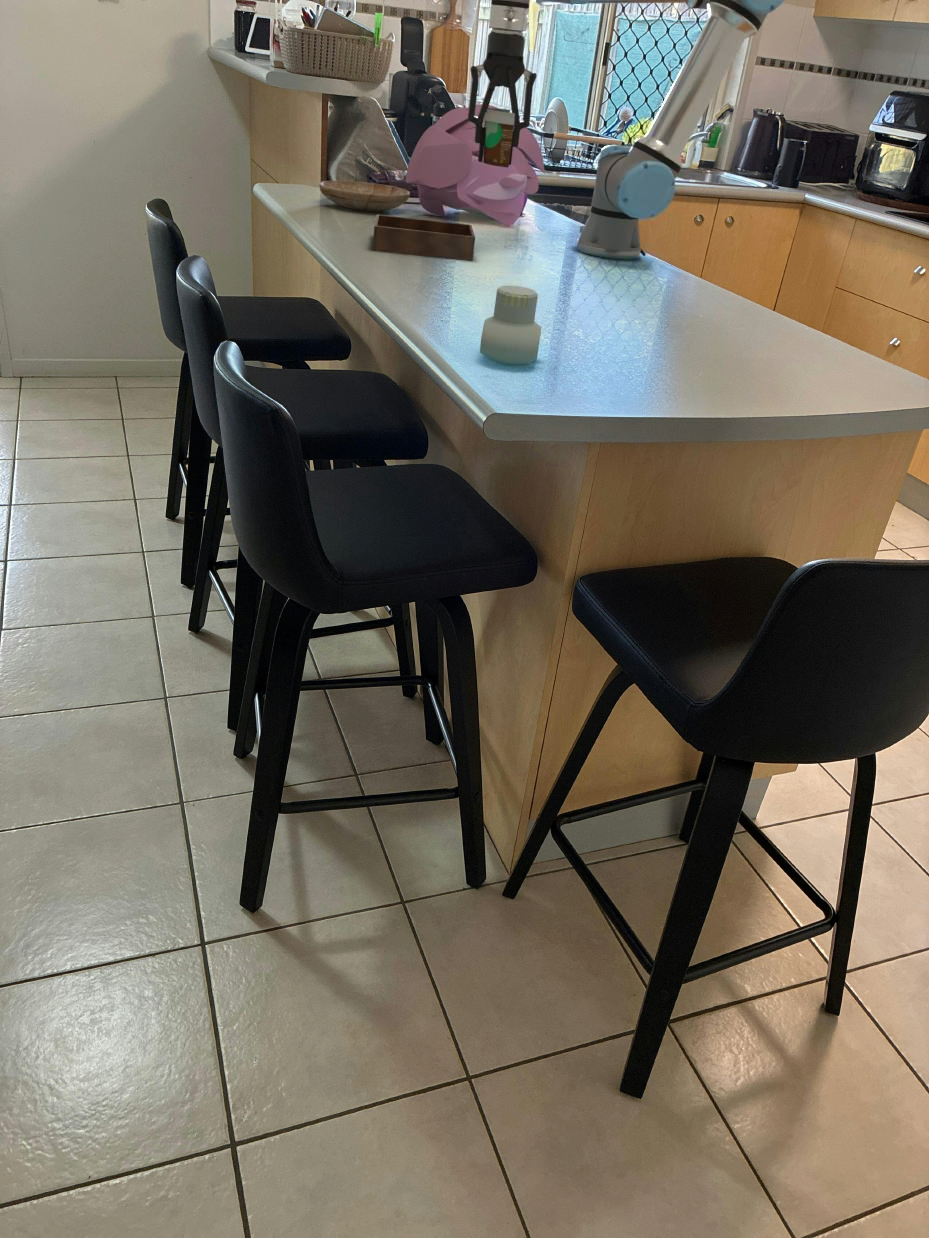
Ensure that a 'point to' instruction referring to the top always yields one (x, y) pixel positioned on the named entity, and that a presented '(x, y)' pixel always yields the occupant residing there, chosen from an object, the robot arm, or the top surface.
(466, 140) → the flower arrangement
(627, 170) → the robot arm
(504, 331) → the air freshener
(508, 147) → the food container
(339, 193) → the wooden bowl
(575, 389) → the top surface
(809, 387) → the top surface
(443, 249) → the wooden tray
